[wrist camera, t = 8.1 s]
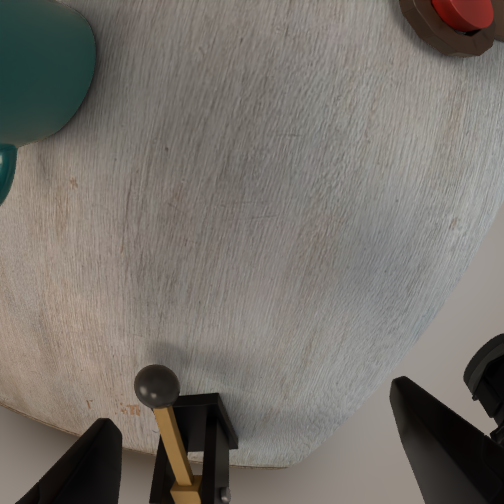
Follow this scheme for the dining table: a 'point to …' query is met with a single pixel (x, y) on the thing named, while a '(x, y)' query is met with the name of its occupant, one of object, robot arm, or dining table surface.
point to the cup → (39, 74)
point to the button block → (452, 29)
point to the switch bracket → (198, 448)
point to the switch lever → (169, 428)
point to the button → (465, 13)
